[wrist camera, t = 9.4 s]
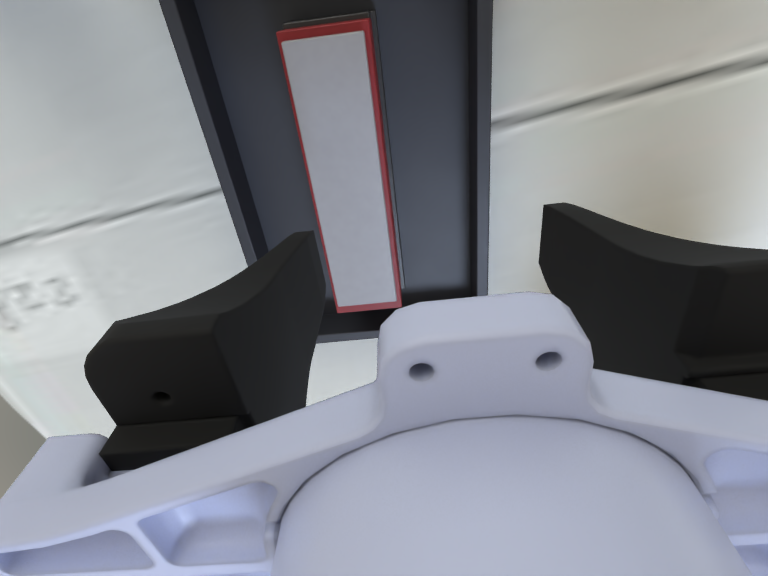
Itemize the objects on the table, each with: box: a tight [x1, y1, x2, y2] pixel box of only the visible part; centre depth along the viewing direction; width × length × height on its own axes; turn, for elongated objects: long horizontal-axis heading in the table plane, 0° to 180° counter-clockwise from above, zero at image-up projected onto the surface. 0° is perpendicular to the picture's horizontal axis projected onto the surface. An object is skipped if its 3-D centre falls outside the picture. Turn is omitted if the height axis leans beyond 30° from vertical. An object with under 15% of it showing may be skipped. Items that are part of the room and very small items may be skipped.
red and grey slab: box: [276, 10, 405, 313], centre depth 20 cm, size 13×4×4 cm, turn 7°
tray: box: [159, 0, 493, 343], centre depth 21 cm, size 18×12×2 cm
